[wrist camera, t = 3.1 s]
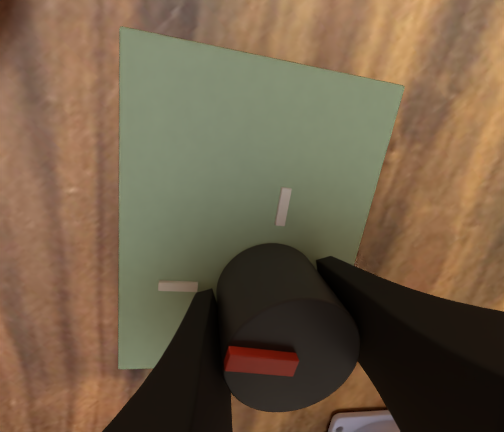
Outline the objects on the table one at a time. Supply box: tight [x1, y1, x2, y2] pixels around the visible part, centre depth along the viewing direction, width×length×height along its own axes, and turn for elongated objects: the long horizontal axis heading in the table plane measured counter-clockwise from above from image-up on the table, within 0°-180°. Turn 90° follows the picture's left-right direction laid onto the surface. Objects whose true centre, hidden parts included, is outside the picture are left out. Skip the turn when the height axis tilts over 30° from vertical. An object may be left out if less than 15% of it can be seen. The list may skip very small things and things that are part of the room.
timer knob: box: [216, 243, 361, 412], centre depth 9 cm, size 4×4×4 cm
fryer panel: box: [118, 26, 405, 369], centre depth 12 cm, size 12×10×3 cm
